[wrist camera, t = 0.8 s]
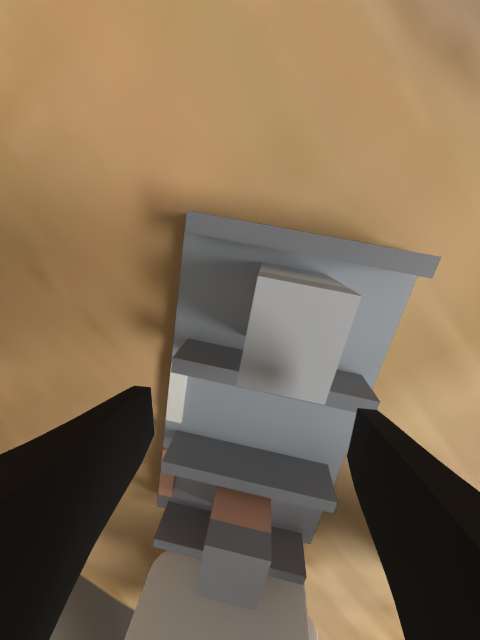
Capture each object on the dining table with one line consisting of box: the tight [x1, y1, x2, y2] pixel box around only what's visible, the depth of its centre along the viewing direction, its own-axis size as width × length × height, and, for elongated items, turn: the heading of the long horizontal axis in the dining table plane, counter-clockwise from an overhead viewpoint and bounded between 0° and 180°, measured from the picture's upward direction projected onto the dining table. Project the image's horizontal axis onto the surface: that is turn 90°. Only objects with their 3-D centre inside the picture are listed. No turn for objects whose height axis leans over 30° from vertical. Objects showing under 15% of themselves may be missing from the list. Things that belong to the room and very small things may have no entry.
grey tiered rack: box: [153, 210, 441, 585], centre depth 18 cm, size 14×25×4 cm, turn 170°
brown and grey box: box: [195, 486, 272, 611], centre depth 19 cm, size 4×5×6 cm
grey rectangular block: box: [236, 262, 361, 405], centre depth 13 cm, size 4×5×6 cm
